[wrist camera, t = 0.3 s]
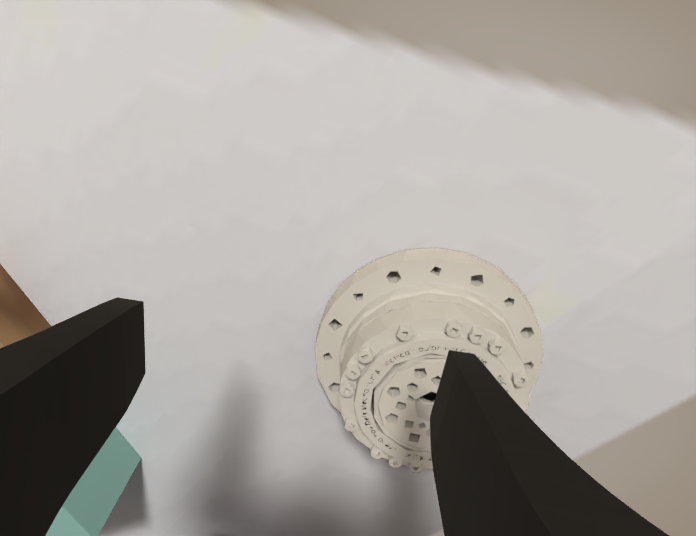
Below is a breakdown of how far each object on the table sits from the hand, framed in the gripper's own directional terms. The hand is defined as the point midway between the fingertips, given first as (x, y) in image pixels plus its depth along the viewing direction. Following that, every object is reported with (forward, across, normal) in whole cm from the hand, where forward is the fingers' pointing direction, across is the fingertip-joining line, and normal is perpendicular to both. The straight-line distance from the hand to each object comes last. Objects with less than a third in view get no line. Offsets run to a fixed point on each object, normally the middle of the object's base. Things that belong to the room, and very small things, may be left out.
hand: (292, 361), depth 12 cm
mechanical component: (+10, -5, +5) cm, 13 cm away
